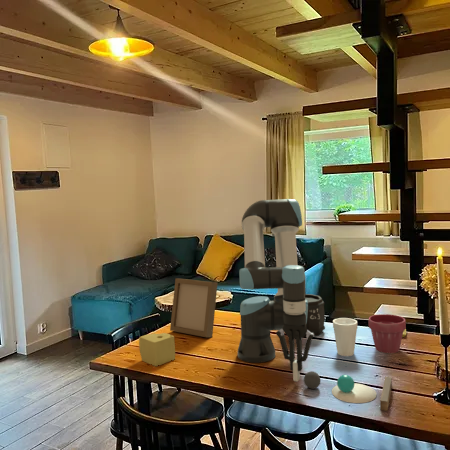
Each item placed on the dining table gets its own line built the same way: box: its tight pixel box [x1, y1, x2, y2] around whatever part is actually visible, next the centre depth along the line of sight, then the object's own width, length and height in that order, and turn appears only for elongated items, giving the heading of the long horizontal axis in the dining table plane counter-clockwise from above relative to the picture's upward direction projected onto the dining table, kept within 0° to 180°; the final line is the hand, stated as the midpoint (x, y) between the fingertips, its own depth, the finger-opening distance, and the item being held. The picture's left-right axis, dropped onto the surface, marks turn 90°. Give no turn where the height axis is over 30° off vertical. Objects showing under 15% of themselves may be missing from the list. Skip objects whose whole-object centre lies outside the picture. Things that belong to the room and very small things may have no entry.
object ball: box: [336, 374, 355, 393], centre depth 152 cm, size 6×6×6 cm
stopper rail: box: [379, 376, 393, 412], centre depth 147 cm, size 2×18×3 cm, turn 157°
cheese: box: [138, 332, 176, 367], centre depth 186 cm, size 10×11×10 cm
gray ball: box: [303, 371, 322, 390], centre depth 156 cm, size 6×6×6 cm
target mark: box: [331, 382, 378, 404], centre depth 151 cm, size 14×14×1 cm
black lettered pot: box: [303, 293, 326, 338], centre depth 213 cm, size 18×18×16 cm
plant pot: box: [368, 313, 407, 354], centre depth 187 cm, size 14×14×13 cm
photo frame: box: [169, 277, 218, 338], centre depth 220 cm, size 15×22×25 cm
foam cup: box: [332, 317, 358, 357], centre depth 185 cm, size 10×9×13 cm
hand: (296, 379), depth 158 cm, fingers closed
